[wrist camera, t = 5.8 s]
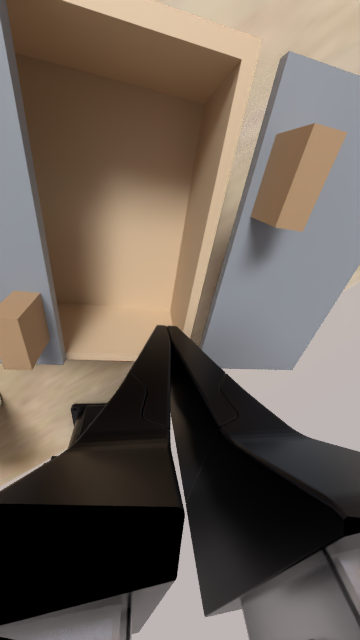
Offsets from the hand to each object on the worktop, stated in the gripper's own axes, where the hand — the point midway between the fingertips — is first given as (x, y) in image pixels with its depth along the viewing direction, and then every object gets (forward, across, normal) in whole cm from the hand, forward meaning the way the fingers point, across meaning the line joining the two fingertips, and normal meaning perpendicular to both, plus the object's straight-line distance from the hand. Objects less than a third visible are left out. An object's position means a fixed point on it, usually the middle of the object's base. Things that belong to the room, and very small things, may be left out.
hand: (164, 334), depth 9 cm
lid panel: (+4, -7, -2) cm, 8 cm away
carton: (+11, +5, -2) cm, 13 cm away
